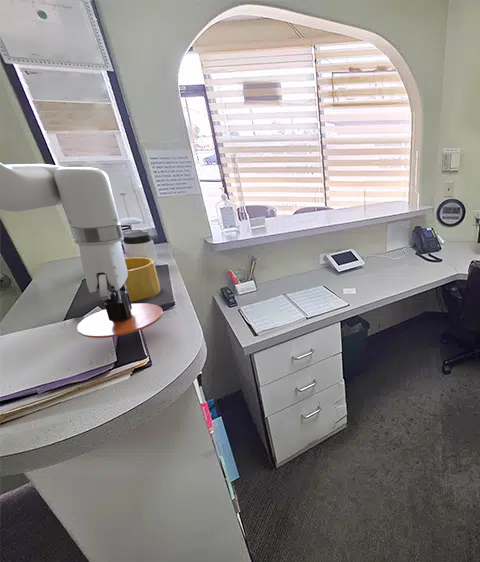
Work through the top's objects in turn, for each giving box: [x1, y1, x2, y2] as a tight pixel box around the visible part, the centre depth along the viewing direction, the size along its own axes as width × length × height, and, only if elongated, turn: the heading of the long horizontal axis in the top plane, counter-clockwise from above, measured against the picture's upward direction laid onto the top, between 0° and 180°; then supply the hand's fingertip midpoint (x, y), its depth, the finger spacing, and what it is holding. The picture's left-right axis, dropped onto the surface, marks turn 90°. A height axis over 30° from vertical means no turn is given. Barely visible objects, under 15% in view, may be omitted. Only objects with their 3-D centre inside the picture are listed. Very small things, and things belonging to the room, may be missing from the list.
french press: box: [119, 191, 144, 258], centre depth 121 cm, size 10×12×25 cm
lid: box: [76, 290, 164, 339], centre depth 68 cm, size 15×15×7 cm
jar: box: [122, 231, 160, 267], centre depth 112 cm, size 9×8×12 cm
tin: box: [98, 257, 161, 303], centre depth 90 cm, size 14×14×10 cm
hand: (121, 314), depth 68 cm, fingers closed on lid, 3 cm apart
